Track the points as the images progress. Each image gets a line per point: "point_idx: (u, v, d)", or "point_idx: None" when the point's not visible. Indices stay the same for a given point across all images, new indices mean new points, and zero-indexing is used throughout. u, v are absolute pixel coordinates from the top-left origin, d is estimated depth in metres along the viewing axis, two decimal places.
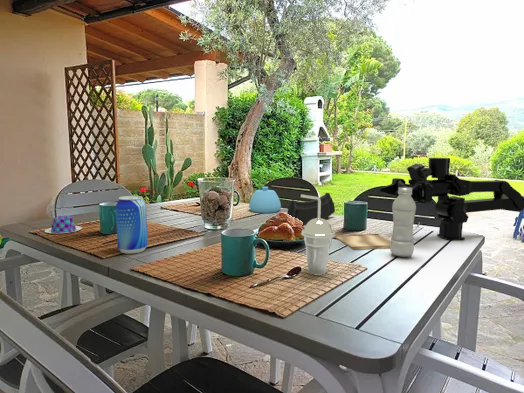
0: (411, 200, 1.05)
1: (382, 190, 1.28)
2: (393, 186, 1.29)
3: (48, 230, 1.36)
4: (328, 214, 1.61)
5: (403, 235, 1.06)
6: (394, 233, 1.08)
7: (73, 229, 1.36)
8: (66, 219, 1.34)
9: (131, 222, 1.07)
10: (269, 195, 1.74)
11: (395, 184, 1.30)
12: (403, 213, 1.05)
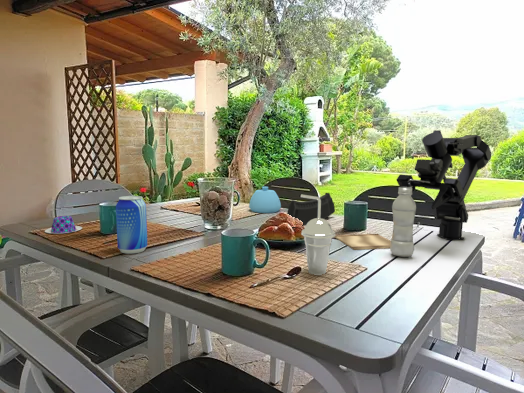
0: (411, 200, 1.05)
1: None
2: None
3: (48, 230, 1.36)
4: (328, 214, 1.61)
5: (403, 235, 1.06)
6: (394, 233, 1.08)
7: (73, 229, 1.36)
8: (66, 219, 1.34)
9: (131, 222, 1.07)
10: (269, 195, 1.74)
11: (408, 186, 1.18)
12: (403, 213, 1.05)
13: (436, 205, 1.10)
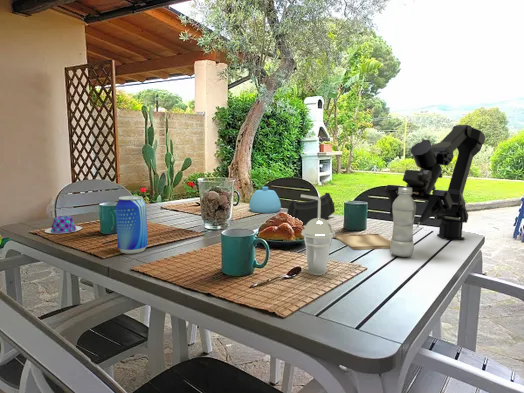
0: (411, 200, 1.05)
1: (392, 214, 1.13)
2: None
3: (48, 230, 1.36)
4: (328, 214, 1.61)
5: (403, 235, 1.06)
6: (394, 233, 1.08)
7: (73, 229, 1.36)
8: (66, 219, 1.34)
9: (131, 222, 1.07)
10: (269, 195, 1.74)
11: (396, 197, 1.14)
12: (403, 213, 1.05)
13: (425, 218, 1.06)
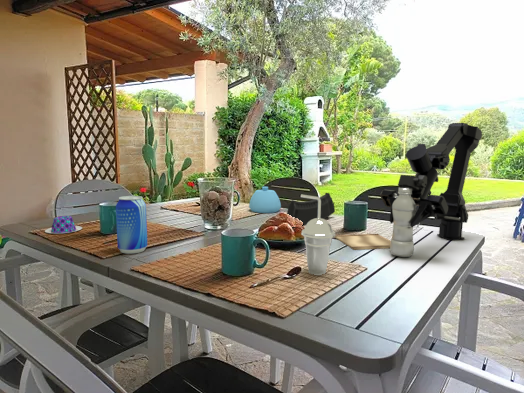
0: (411, 200, 1.05)
1: (392, 221, 1.10)
2: None
3: (48, 230, 1.36)
4: (328, 214, 1.61)
5: (403, 235, 1.06)
6: (394, 233, 1.08)
7: (73, 229, 1.36)
8: (66, 219, 1.34)
9: (131, 222, 1.07)
10: (269, 195, 1.74)
11: None
12: (403, 213, 1.05)
13: (415, 223, 1.05)
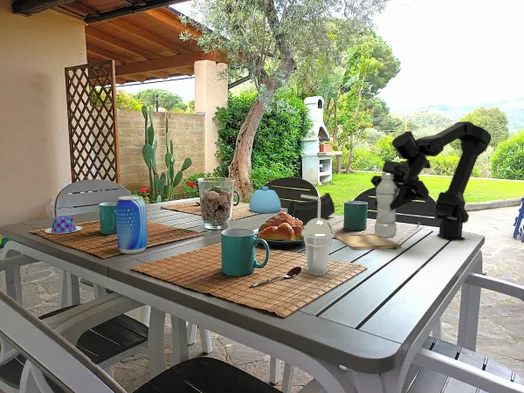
0: (392, 184, 1.12)
1: None
2: None
3: (48, 230, 1.35)
4: (328, 214, 1.61)
5: (384, 217, 1.13)
6: (377, 215, 1.15)
7: (74, 229, 1.36)
8: (67, 219, 1.34)
9: (131, 222, 1.07)
10: (269, 195, 1.74)
11: None
12: (383, 196, 1.12)
13: (395, 206, 1.11)
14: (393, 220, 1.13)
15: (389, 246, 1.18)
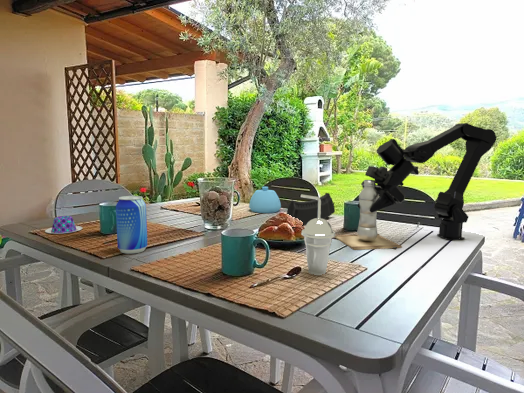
0: (371, 191, 1.20)
1: None
2: None
3: (48, 230, 1.35)
4: (328, 214, 1.61)
5: (363, 221, 1.22)
6: None
7: (74, 229, 1.37)
8: (67, 219, 1.34)
9: (131, 222, 1.07)
10: (269, 195, 1.74)
11: None
12: (363, 201, 1.21)
13: (374, 209, 1.18)
14: (372, 224, 1.21)
15: (389, 246, 1.18)
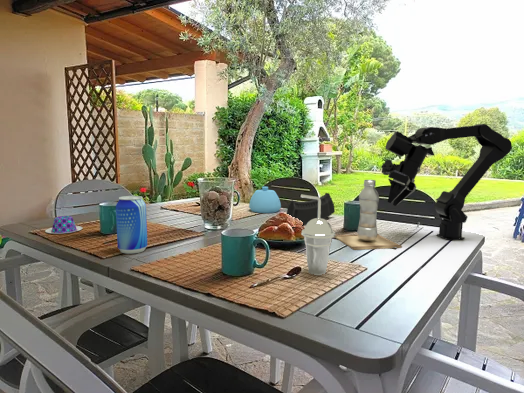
0: (371, 191, 1.20)
1: (395, 203, 1.32)
2: None
3: (48, 230, 1.35)
4: (328, 214, 1.61)
5: (363, 221, 1.22)
6: None
7: (74, 229, 1.37)
8: (68, 219, 1.35)
9: (131, 222, 1.07)
10: (269, 195, 1.74)
11: None
12: (363, 201, 1.21)
13: (391, 198, 1.24)
14: (372, 224, 1.21)
15: (389, 246, 1.18)
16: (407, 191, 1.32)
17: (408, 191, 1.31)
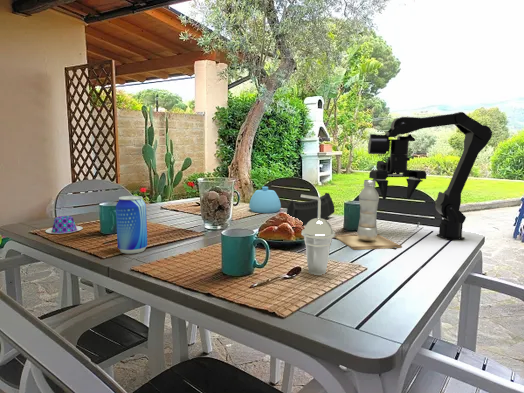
0: (371, 191, 1.20)
1: (408, 197, 1.33)
2: (408, 184, 1.33)
3: (48, 231, 1.35)
4: (328, 214, 1.61)
5: (363, 221, 1.22)
6: None
7: (75, 229, 1.37)
8: (68, 219, 1.35)
9: (131, 222, 1.07)
10: (269, 195, 1.74)
11: (408, 181, 1.34)
12: (363, 201, 1.21)
13: (383, 195, 1.31)
14: (372, 224, 1.21)
15: (389, 246, 1.18)
16: (413, 181, 1.31)
17: (414, 181, 1.30)
